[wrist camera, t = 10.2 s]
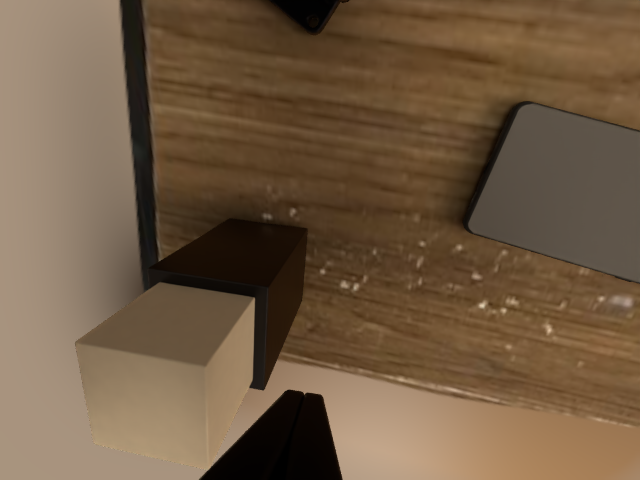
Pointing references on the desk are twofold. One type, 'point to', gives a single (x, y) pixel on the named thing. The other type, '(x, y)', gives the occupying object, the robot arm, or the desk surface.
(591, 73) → the desk surface
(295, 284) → the stand
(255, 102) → the desk surface
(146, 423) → the block
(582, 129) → the smartphone
